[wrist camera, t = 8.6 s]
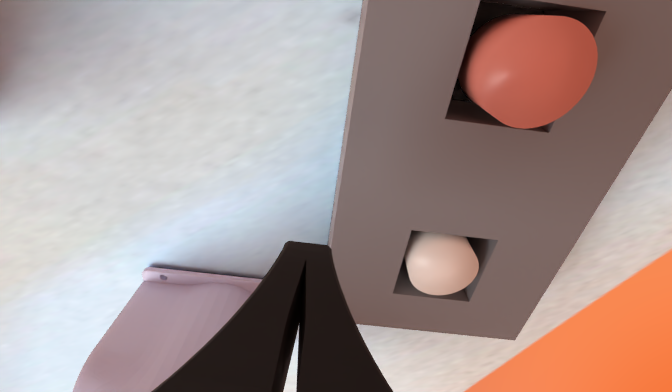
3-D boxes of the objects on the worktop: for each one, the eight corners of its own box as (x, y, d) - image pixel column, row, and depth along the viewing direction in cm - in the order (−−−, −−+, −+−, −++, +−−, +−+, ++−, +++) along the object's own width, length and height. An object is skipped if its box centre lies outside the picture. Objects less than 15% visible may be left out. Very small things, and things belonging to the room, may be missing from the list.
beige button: (394, 255, 21) (401, 291, 18) (408, 207, 19) (418, 239, 16) (450, 261, 21) (465, 298, 18) (469, 214, 19) (489, 247, 16)
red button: (447, 101, 14) (469, 121, 12) (474, 7, 13) (508, 7, 10) (525, 111, 15) (565, 134, 12) (564, 20, 13) (620, 24, 10)
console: (323, 272, 23) (320, 320, 20) (377, -100, 13) (389, -140, 10) (489, 291, 23) (514, 340, 20) (663, -54, 14) (773, -75, 10)
